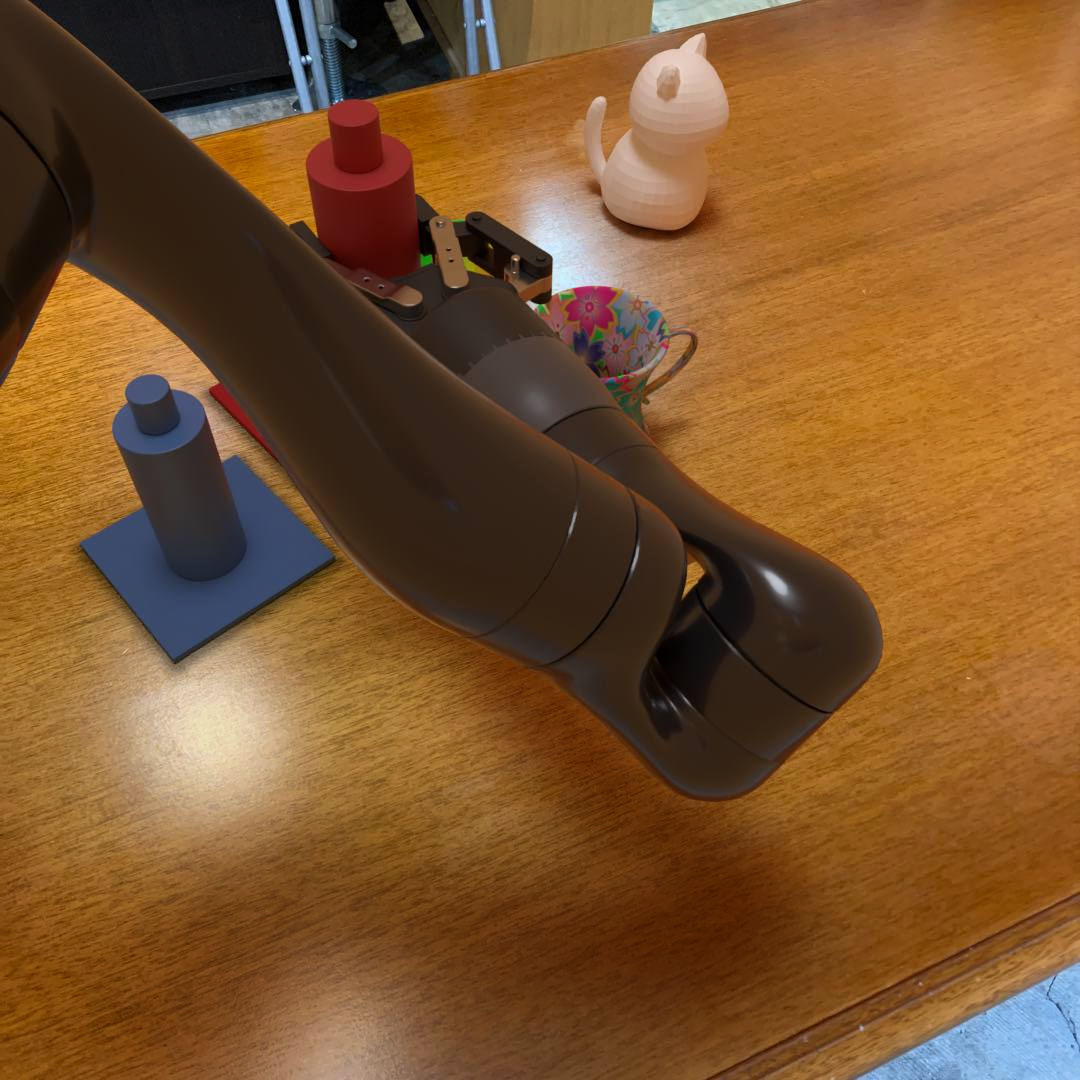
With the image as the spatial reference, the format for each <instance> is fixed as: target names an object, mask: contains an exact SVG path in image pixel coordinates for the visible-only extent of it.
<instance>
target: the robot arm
mask: <svg viewBox="0 0 1080 1080" xmlns="http://www.w3.org/2000/svg"><path fill="white" fill-rule="evenodd" d="M415 195H416V207H417V219H418V231H419V242H420V253H421V254H422V255H423V256H424V257H425V256H428V255H430V254H431V255H432V263H431V264H428V265H425V266H423V267H420V268H418V269H417V270H415V271H414V272H412V273H410V274H409V275H405V276H400V277H394V278H391V279H388V280H386V279H384V278H382V277H380V276H378V275H376V274H374V273H372V272H370V271H368V270H366V269H364V268H362V267H359V268H357V269H356V270H354V271H353V270H351V269H349V268H347V267H345V266H343V265H341V264H339V263H337V262H335V261H333V260H332V255H331V253H330V252H329V251H328V249H327V248H326V247H325V246H324V245H323V244H322V243H321V241H320V240H319V239H318V235H316V234H315V233H314V232H313V230H312V229H311V228H310V226H308V224H307V223H306V222H305V221H304V220H303V219H302V220H299V221H296V222H293V223H290V224H289V225H288V224H287V223H286V222H285V221H284V220H282V219H281V218H280V217H279V216H278V215H277V214H275V212H273V211H272V210H271V209H270V208H269V207H268V206H267V205H266V204H265V203H263V201H261V200H260V199H259V198H258V197H257V196H256V195H254V194H253V193H252V192H251V191H250V190H249V189H247V188H246V187H245V186H244V185H243V184H241V182H239V181H238V180H237V179H236V178H235V177H234V176H233V175H231V174H230V173H229V172H228V171H227V170H225V169H224V168H223V167H222V166H221V165H220V164H219V163H217V162H216V161H215V160H214V159H213V158H212V157H211V156H209V155H208V154H207V153H206V152H205V151H204V150H203V149H202V148H201V147H199V146H198V144H196V143H195V142H194V141H193V140H192V139H190V138H189V137H188V136H187V135H186V134H185V133H184V132H183V131H181V130H180V128H178V127H177V126H176V125H175V124H174V123H172V122H171V121H170V120H169V119H168V118H167V117H166V116H165V115H164V114H162V112H160V110H158V109H157V108H156V107H155V106H154V105H152V103H150V102H149V101H148V99H146V98H145V97H144V96H142V95H141V94H140V93H139V92H138V91H137V90H135V88H133V87H132V86H131V85H130V84H129V83H128V82H126V81H125V80H124V79H123V78H122V77H121V76H120V75H118V74H117V73H116V72H115V71H114V70H113V69H112V68H110V66H108V65H107V64H106V63H105V62H104V61H103V60H102V59H100V58H99V57H98V56H97V55H96V54H94V53H93V52H92V51H91V50H90V49H88V48H87V47H86V46H85V45H84V44H82V42H80V41H79V40H78V39H77V38H76V37H75V36H73V35H72V34H71V33H70V32H68V30H66V29H65V28H64V27H62V26H61V25H60V24H58V23H57V22H56V21H55V20H53V19H52V18H51V17H50V16H49V15H47V14H46V13H45V12H43V11H42V10H41V9H40V8H38V7H37V6H36V5H35V4H34V3H32V2H31V1H30V0H0V389H1V388H2V386H3V385H4V383H5V382H6V380H7V378H8V376H9V374H10V373H11V371H12V369H13V367H14V365H15V363H16V361H17V359H18V355H19V354H20V351H21V350H22V349H23V347H24V346H25V344H26V341H27V340H28V338H29V336H30V334H31V332H32V329H33V328H34V326H35V324H36V323H37V320H38V318H39V316H40V314H41V312H42V311H43V308H44V306H45V304H46V302H47V300H48V298H49V296H50V294H51V292H52V290H53V288H54V286H55V284H56V282H57V280H58V278H59V276H60V274H61V272H62V270H63V268H64V266H65V264H66V263H68V264H69V265H72V266H74V267H76V268H77V269H79V270H81V271H83V272H85V274H88V275H90V276H91V277H93V278H94V279H97V280H98V281H100V282H102V283H103V284H105V285H106V286H109V287H110V288H112V289H114V290H115V291H117V292H118V293H120V294H121V295H123V296H124V297H126V298H127V299H129V300H130V301H131V302H132V303H134V304H135V305H137V306H138V307H140V308H141V309H142V310H144V311H145V312H146V313H148V314H149V315H150V316H151V317H153V318H154V319H156V321H158V322H159V323H160V324H161V325H162V326H164V327H165V328H166V329H168V331H170V332H171V333H172V334H173V335H175V337H177V339H179V340H180V341H181V342H182V343H183V344H184V345H185V346H186V347H187V348H188V349H189V351H191V352H192V354H194V355H195V356H196V357H197V359H199V360H200V361H201V362H202V364H203V365H204V366H205V367H206V368H207V369H208V371H209V372H210V373H211V374H212V375H213V377H214V378H215V379H216V380H217V382H218V383H220V384H221V385H222V386H223V387H224V388H225V389H226V391H227V392H228V393H229V394H230V395H231V397H232V398H233V399H234V400H235V401H236V403H237V404H238V405H239V406H240V408H241V409H242V410H243V412H244V413H245V415H246V416H247V417H248V419H249V420H250V421H251V423H252V424H253V425H254V427H255V428H256V430H257V431H258V432H259V434H260V435H261V436H262V438H263V439H264V441H265V442H266V443H267V445H268V446H269V447H270V449H271V450H272V452H273V453H274V455H275V456H276V458H277V459H278V461H279V462H280V463H279V462H278V461H277V462H278V463H279V464H280V465H281V466H282V468H283V470H284V471H285V473H286V474H287V476H288V477H289V479H290V480H291V482H292V483H293V485H294V487H295V488H296V490H297V491H298V493H299V494H300V496H301V497H302V498H303V500H304V501H305V503H306V504H307V505H308V507H309V509H310V510H311V511H312V513H313V515H314V516H315V517H316V519H317V520H318V521H319V523H320V524H321V525H322V527H323V528H324V530H325V531H326V533H327V534H328V536H329V537H330V538H331V539H332V540H333V542H334V543H335V544H336V546H338V548H339V549H340V550H341V552H342V553H343V554H344V555H345V556H346V557H347V558H348V559H349V561H351V562H352V564H353V565H354V566H355V567H356V568H357V569H358V570H359V571H360V573H362V574H363V575H364V576H365V577H366V578H367V579H368V580H370V581H371V582H372V583H373V584H374V585H375V586H376V587H378V589H379V590H381V591H382V592H383V593H385V595H387V596H388V597H390V598H391V599H392V600H394V601H395V602H396V603H398V604H399V605H400V606H402V607H403V608H405V609H406V610H407V611H409V612H410V613H413V614H414V615H416V616H418V617H419V618H421V619H423V620H425V621H426V622H428V623H429V624H433V625H434V626H436V627H438V628H440V629H442V630H444V631H447V632H449V633H451V634H453V635H455V636H457V637H459V638H462V639H463V640H466V641H468V642H470V643H472V644H473V645H476V646H478V647H480V648H483V649H484V650H486V651H488V652H490V653H493V654H495V655H497V656H499V657H501V658H503V659H504V660H508V661H509V662H512V663H513V664H517V665H518V666H520V667H523V668H524V669H527V670H529V671H531V672H533V673H535V674H537V675H539V676H540V677H542V678H544V679H545V680H547V681H548V682H549V683H551V684H552V685H554V686H555V687H556V688H558V690H560V691H561V692H563V694H565V695H566V696H568V697H569V698H570V699H571V700H572V701H573V702H574V703H576V704H577V705H578V706H580V707H581V708H582V709H583V710H584V711H585V712H587V713H588V714H589V715H590V716H592V717H593V718H594V720H596V721H597V722H599V723H600V724H601V725H602V726H603V727H604V728H605V729H606V730H607V731H608V732H609V733H611V734H612V736H613V737H615V738H616V739H617V741H619V743H620V744H622V746H623V747H624V748H625V749H626V750H627V751H628V752H629V753H630V754H631V755H632V756H633V758H634V759H636V760H637V761H638V762H639V764H641V765H642V767H643V768H645V770H647V772H648V773H649V774H650V775H652V776H653V777H654V778H655V779H656V780H657V781H658V782H659V783H661V784H662V785H663V786H664V787H666V789H669V790H670V791H672V792H673V793H675V794H676V795H678V796H681V797H682V798H685V799H689V800H692V801H696V802H705V803H721V802H722V803H723V802H730V801H734V800H738V799H741V798H744V797H745V796H748V795H750V794H751V793H753V792H755V791H756V790H758V789H759V788H760V787H761V786H762V785H764V784H765V783H766V782H767V781H768V780H769V779H771V778H772V776H774V774H775V773H776V772H777V771H779V769H780V768H781V767H782V766H783V765H785V764H786V762H787V761H788V760H790V758H792V756H793V755H795V753H796V752H798V751H799V749H801V748H802V746H804V744H805V743H806V742H808V740H810V738H812V737H813V735H815V734H816V732H818V731H819V730H820V729H821V727H823V725H825V724H826V722H828V721H829V720H830V719H831V718H832V717H833V715H834V714H835V713H836V712H838V711H840V710H841V708H842V707H843V706H845V705H846V704H847V702H849V700H850V699H852V698H853V697H854V696H855V695H856V694H857V693H858V692H859V691H860V690H861V688H862V687H863V686H865V685H866V684H867V683H868V681H870V679H871V678H872V676H873V675H874V674H875V672H876V671H877V669H878V668H879V666H880V662H881V660H882V657H883V650H884V635H883V627H882V624H881V621H880V618H879V614H878V611H877V609H876V608H875V604H874V603H873V601H872V600H871V598H870V596H869V595H868V593H867V592H866V590H865V589H864V588H863V586H862V585H861V584H860V583H859V582H858V580H856V578H854V577H853V576H852V575H851V574H850V573H849V572H847V571H846V570H845V569H843V568H842V567H841V566H840V565H838V564H836V563H835V562H833V561H831V560H830V559H828V558H827V557H825V556H824V555H822V554H821V553H818V552H817V551H815V550H813V549H811V548H809V547H808V546H806V545H803V544H801V543H800V542H798V541H796V540H794V539H792V538H791V537H788V536H786V535H784V534H782V533H781V532H778V531H776V530H774V529H773V528H770V527H768V526H766V525H765V524H762V523H761V522H759V521H758V520H757V521H756V520H755V519H754V518H751V517H749V516H748V515H745V514H744V513H743V512H741V511H738V510H737V509H736V508H734V507H732V506H731V505H729V504H727V503H726V502H725V501H723V500H721V498H718V497H716V496H715V494H713V493H711V492H710V491H708V490H707V489H706V488H704V487H703V486H702V485H700V484H699V483H698V482H697V481H695V480H694V479H692V478H691V477H690V476H689V475H688V474H686V473H685V472H684V471H683V470H682V469H681V468H680V467H679V466H677V464H676V463H675V462H673V460H671V458H669V456H667V454H665V452H663V450H661V448H660V447H659V446H657V444H656V443H655V442H654V441H653V440H652V439H651V437H650V438H649V437H648V436H647V435H646V434H645V433H644V432H643V431H642V430H641V429H640V428H639V427H638V426H637V425H636V424H635V423H634V422H633V421H632V420H631V419H630V418H629V417H628V416H627V415H626V413H625V412H624V411H623V410H622V409H621V407H620V406H619V405H618V403H617V402H616V400H615V399H614V397H613V396H612V394H611V393H610V392H609V390H608V389H607V387H606V386H605V385H604V384H603V382H602V381H601V380H600V379H599V378H598V376H597V375H596V374H595V373H594V372H593V371H592V370H591V369H590V368H589V367H588V366H587V365H586V364H585V363H584V362H583V361H582V360H581V359H580V358H579V357H578V356H577V355H576V354H575V353H574V352H573V351H572V350H571V349H570V348H569V347H568V345H567V344H566V343H565V342H564V341H563V340H562V339H561V338H560V337H559V336H558V335H557V334H556V333H555V332H554V331H553V330H552V329H551V328H550V327H549V326H548V325H547V324H546V323H545V322H544V321H543V320H542V319H541V318H540V317H539V316H538V315H537V314H536V313H535V312H534V310H535V309H533V308H532V307H531V306H530V305H529V304H528V303H527V302H531V303H533V304H535V305H539V304H540V305H541V304H546V303H548V302H550V301H551V299H552V295H553V271H554V270H553V269H554V268H553V267H554V257H553V256H552V255H551V254H550V253H549V252H547V251H545V250H544V249H542V248H541V247H539V246H537V244H534V243H533V242H531V241H530V240H528V239H527V238H525V237H524V236H522V235H520V234H519V233H517V232H515V231H514V230H512V229H510V227H507V226H506V225H504V224H503V223H502V222H499V221H498V220H496V219H495V218H493V217H492V216H490V215H488V214H487V213H485V212H484V211H479V210H478V211H471V212H468V213H467V214H466V215H465V217H464V221H459V222H452V221H453V220H452V218H451V217H449V216H446V215H440V213H438V212H437V211H436V210H435V209H434V208H433V206H431V205H430V204H429V202H428V201H426V200H425V198H423V196H422V195H420V194H418V193H416V192H415ZM489 244H490V245H491V246H492V247H493V249H492V248H491V247H489ZM463 257H467V258H468V260H469V261H471V262H472V263H474V264H475V265H477V266H478V267H480V268H481V269H483V270H484V271H486V272H487V273H489V274H490V275H492V276H493V277H491V276H488V275H484V274H480V273H476V272H472V271H468V270H466V267H465V265H464V261H463ZM695 563H697V564H698V565H699V566H700V568H701V569H702V571H703V573H702V575H701V576H700V578H698V580H697V582H696V583H694V585H692V587H690V589H689V590H688V591H687V592H686V593H685V595H684V592H685V589H686V584H687V580H688V579H687V578H688V566H690V565H692V564H695Z"/></svg>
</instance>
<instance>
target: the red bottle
mask: <svg viewBox="0 0 1080 1080" xmlns="http://www.w3.org/2000/svg"><path fill="white" fill-rule="evenodd" d="M326 115H327V121H328V128H329V129H328V130H329V135H330V137H328V138H326V139H324V140H322V141H320V142H319V143H318V144H315V146H314V147H312V149H311V150H309V153H308V155H307V157H306V159H305V171H306V176H307V177H306V178H307V182H308V187H309V194H310V201H311V205H312V211H313V216H314V223H315V227H316V228H315V229H316V234H317V235H316V236H317V238H318V239H319V240H320V241H321V243H322V244H323V245H324V246H325V247H326V248H327V249H328V251H329V252H330V253H331V255H332V260H333V261H335V262H337V263H339V264H341V265H343V266H345V267H347V268H349V269H351V270H353V271H354V270H356V269H357V268H359V267H362V268H364V269H366V270H368V271H370V272H372V273H374V274H376V275H378V276H380V277H382V278H384V279H386V280H388V279H391V278H394V277H400V276H405V275H409V274H410V273H412V272H414V271H415V270H417V269H418V268H420V267H422V266H421V254H420V242H419V231H418V219H417V207H416V195H415V193H416V185H415V175H414V162H413V161H414V160H413V155H412V152H411V150H410V148H409V147H408V146H407V145H406V144H405V142H402V141H401V140H400V139H398V138H396V137H394V136H392V135H388V134H386V133H382V132H381V121H380V113H379V109H378V107H377V106H376V105H375V104H374V103H372V102H371V101H368V100H364V99H354V98H352V99H346V100H341V101H339V102H336V103H335V104H333V105H332V106H330V107H329V109H328V110H327V114H326Z"/></svg>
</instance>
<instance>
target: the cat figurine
mask: <svg viewBox="0 0 1080 1080" xmlns="http://www.w3.org/2000/svg"><path fill="white" fill-rule="evenodd" d="M707 43H708V42H707V37H706V34H705V32H701V33H697V34H695V35H693V36H692V37H690V38H688V39H687V40H686V41H685V42H684V43H683V44H682V45H681V46H679V48H670V49H666V50H664V51H661V52H659V53H656V54H655V55H654V56H652V57H651V58H650V59H648V60H647V62H645V64H644V65H643V66H642V68H641V69H640V71H639V72H638V74H637V76H636V78H635V80H634V82H633V84H632V87H631V92H630V95H629V100H628V119H629V123H630V125H631V128H629V129H628V130H627V132H626V133H625V134H623V136H621V137H620V139H618V141H617V142H616V144H615V145H614V148H613V149H612V151H611V153H610V155H609V157H608V160H606V158H605V155H604V151H603V146H602V129H603V128H602V127H603V122H604V120H605V119H604V118H605V115H606V111H607V105H608V104H607V99H606V98H605V96H602V95H600V96H597V97H595V98H594V100H593V101H592V102H591V104H590V105H589V108H588V110H587V112H586V116H585V119H584V126H583V127H584V128H583V133H584V134H583V135H584V137H583V139H584V145H585V146H584V147H585V153H586V157H587V162H588V164H589V167H590V170H591V173H592V174H593V177H594V179H595V180H596V181H597V183H598V184H599V185H600V191H601V196H602V200H603V203H604V205H605V206H606V208H607V210H608V211H609V212H610V214H611V215H612V216H614V217H615V218H616V219H619V220H621V221H624V222H625V223H627V224H631V225H634V226H637V227H643V228H647V229H654V230H660V231H676V230H679V229H682V228H684V227H686V226H688V225H689V224H690V223H692V221H694V220H695V219H696V218H697V216H698V215H699V214H700V211H701V209H702V207H703V205H704V203H705V199H706V196H707V192H708V188H709V178H710V177H709V175H710V174H709V170H710V169H709V168H710V167H709V162H708V156H707V152H706V149H707V148H708V147H710V146H711V145H712V144H714V143H715V142H716V141H717V140H718V139H720V137H721V136H722V135H723V134H724V132H725V131H726V129H727V127H728V125H729V119H730V107H729V106H730V105H729V100H728V97H727V96H728V95H727V93H726V90H725V88H724V85H723V82H722V80H721V78H720V77H719V74H718V73H717V70H716V69H715V67H713V65H712V64H711V63H710V62H709V61H708V60H707V48H708V47H707V46H708V45H707Z"/></svg>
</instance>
